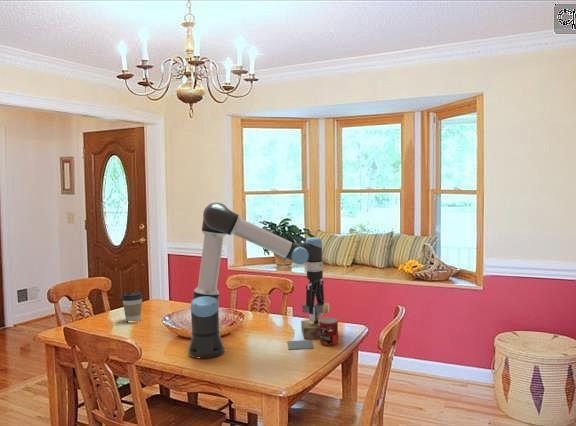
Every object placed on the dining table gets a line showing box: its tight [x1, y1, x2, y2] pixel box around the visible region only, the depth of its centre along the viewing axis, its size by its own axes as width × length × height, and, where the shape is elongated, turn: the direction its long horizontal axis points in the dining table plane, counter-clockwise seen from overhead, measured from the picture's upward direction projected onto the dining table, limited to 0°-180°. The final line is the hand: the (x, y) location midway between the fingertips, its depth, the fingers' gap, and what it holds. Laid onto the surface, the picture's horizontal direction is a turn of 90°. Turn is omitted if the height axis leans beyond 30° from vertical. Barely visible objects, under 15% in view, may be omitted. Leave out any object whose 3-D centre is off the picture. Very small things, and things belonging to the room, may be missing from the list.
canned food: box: [319, 317, 339, 347], centre depth 224 cm, size 8×8×11 cm
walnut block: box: [300, 319, 320, 340], centre depth 239 cm, size 13×13×5 cm
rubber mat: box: [286, 339, 315, 351], centre depth 224 cm, size 11×11×1 cm
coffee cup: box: [121, 291, 144, 322], centre depth 272 cm, size 11×11×15 cm
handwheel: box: [301, 302, 330, 323], centre depth 239 cm, size 12×5×9 cm, turn 79°
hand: (315, 318), depth 239 cm, fingers closed on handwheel, 6 cm apart
